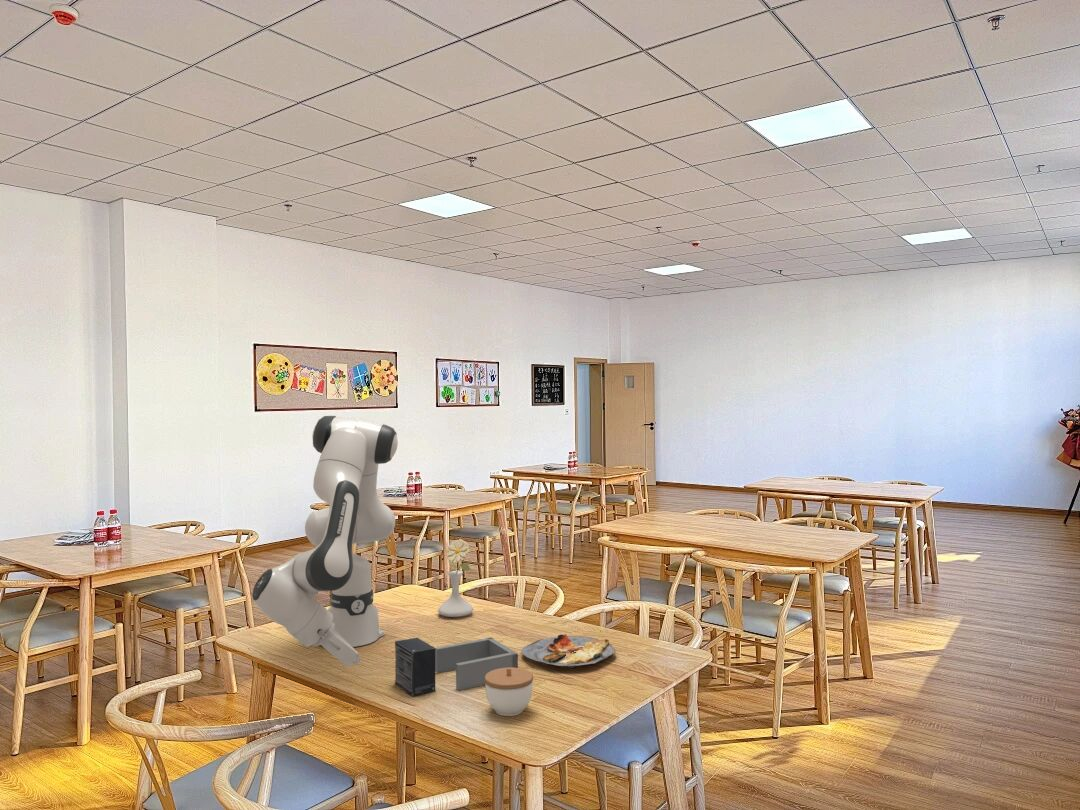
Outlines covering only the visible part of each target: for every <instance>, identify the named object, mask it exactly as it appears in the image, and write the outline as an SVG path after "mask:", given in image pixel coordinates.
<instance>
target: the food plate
mask: <svg viewBox="0 0 1080 810" xmlns="http://www.w3.org/2000/svg"><path fill="white" fill-rule="evenodd" d="M578 646H584V647H578ZM574 651H577V652H576V653H574V654H572V655H570V656H569V657H566V658H565V656H566V654H567V653H572V652H574ZM520 653H521V655H522V656H525V657H526V658H527V659H530V660H533V662H539V663H542V664H547V665H552V666H556V667H564V668H565V667H566V668H571V669H572V668H575V667H580V666H584V665H591V664H597V663H598V662H600V661H601V662H602V661H603V660H605V659H607V658H609V657H610V656H613V655H614V654H615V653H616V649H615V648H614V647H613V645H612V644H611V643H610V640H609V639H597V638H594V637H589V636H581V635H580V636H579V635H577V636H576V635H567V634H566V633H564V634H558V635H557V636H552V637H548V638H546V637H545V638H541V639H539V640H536V641H533V642H532V643H529V644H527V645H526V646H525V645H524V646H523V647H522V648H521V651H520Z"/></svg>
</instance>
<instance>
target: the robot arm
mask: <svg viewBox="0 0 1080 810" xmlns="http://www.w3.org/2000/svg"><path fill="white" fill-rule="evenodd" d="M311 435H312V436H311V438H312V447H313V448H314V449H315V450H316V452H318V453H320V457H319V459H318V462H317V466H316V468H315V472H314V477H313V484H312V485H313V490H314V492H315V494H316V496H317V497H318V498H319V499H320V500H321V501H323V502H324V503H327V504H328V507H326V508H322V509H318V510H316V511H315V510H314V511H312V512H311V513H310V514H309V515H308V517H307V519H306V521H305V523H304V524H305V525H304V532H305V536H306V538H307V540H308V541H309V542H310V543H311V544H312V545H313V546H315V548H312V549H309V550H306V551H303V552H299V553H297V554H296V555H294V556H293V557H291V559H289V560H288V561H286V562H284V563H283V564H281V565H280V564H279V566H275V567H273V568H268V569H267V570H266V571H264V572H262V574H261V575H260V576H259V578H258V579H257V580H256V582H255V584H254V586H253V590H252V595H251V596H252V600H253V602H254V604H255V605H256V606H257V607H258V608H259V609H260V610H261V611H262V613H264V614H265V615H266V616H267V617H268V618H270V619H271V620H272V621H274V623H276V624H278V625H281V626H282V627H284V628H285V630H286V631H287V632H288V634H289V635H291V636H292V637H293V638H294V639H296V640H297V641H298V642H299V643H300V644H302V645H303V646H304V647H311V646H314V647H319V646H320V645H322V646H321V647H323V648H324V649H325V650H326V651H327V652H328V653H329V654H330V655H332V656H333V657H334V658H335V659H336V660H338V661H339V662H340V663H342V664H343V665H344V666H345V667H350V666H351V665H353V666H358V665H359V664H360V663H361V661H362V660H361V659H362V658H361V657H360V656H359V652H358V651H357V650H356V649H355V648H356V647H361V646H365V645H370V644H372V643H374V642H376V641H377V640H378V639H379V638H381V637H383V636H385V631H384V630H382V629H380V617H379V608H378V607H377V606H376V605H374V603H373V602H374V592H373V591H374V590H373V589H372V566H371V563H370V561H369V560H368V559H367V558H365V557H363V556H361V555H359V554H356V553H353V550H352V549H353V548H352V547H353V544H354V545H355V544H364V543H365V544H366V543H372V542H373V543H374V542H378V541H381V540H384V539H388V538H390V537H391V536H392V534H393V532H394V530H395V527H396V518H395V513H394V512H393V510H392V509H391V508H390V507H389V506H388V505H386V504H384V503H383V501H381V500H380V497H379V496H378V491H377V483H378V482H377V480H378V479H377V478H378V473H379V472H378V470H379V464H380V465H381V464H387V463H388V462H391V460H392V458H393V457H394V455H395V454H396V452H397V451H398V443H399V442H398V437H397V435H398V434H397V431H396V430H395V429H394V427H391V426H389V425H387V424H385V423H383V424H380V423H377V422H374V421H369V420H366V419H362V418H359V419H356V418H352V417H351V418H350V417H342V416H341V417H338V416H337V415H325V416H322V417H321V418H319V419H318V420H317V422H316V423H315V426H314V428H313V431H312V434H311ZM321 592H330V597H329V598H330V601H329V602H330V603H329V605H330V606H329V608H326V607H325V606H324V605H322V604H321V602H319V601H318V600H317V598H316V597H317V595H319V593H321Z"/></svg>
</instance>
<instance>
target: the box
mask: <svg viewBox="0 0 1080 810" xmlns="http://www.w3.org/2000/svg"><path fill="white" fill-rule="evenodd" d="M511 667H512V668H519V654H518V652H516V651H514V650H513V649H511V648H510V647H508V646H506V645H504V644H503V643H502V642H500V641H499V640H496V639H494V638H493V637H486V638H479V639H476V640H469V641H465V642H460V643H454V644H449V645H443V646H438V647H435V673H436V674H439V673H445V672H450V671H454V670H455V689H456V690H457V691H463V690H467V689H473V688H476V687H481V686H485V675H486V674H487V673H488V672H490V671H492V670H495V669H500V668H511Z"/></svg>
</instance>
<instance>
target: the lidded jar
mask: <svg viewBox="0 0 1080 810" xmlns="http://www.w3.org/2000/svg"><path fill="white" fill-rule="evenodd" d="M533 681H534V674H533V673H532V672H531V671H530V670H527V669H525V668H521V667H518V668H512V667H511V668H500V669H495V670H492V671H490V672H488V673H487V674H486V675H485V685H484V686H485V694H486V700H487V702H488V704H489V705H490V707H491V708H492V709H493V710H494V711H495V713H496V714H497V715H500V716H503V717H513V716H514V717H515V716H518V715H521V714H522V713H523V712H524V710H525V709H526V708H527V706H528V705H529V704H530V701H531V699H532V695H533V685H534V684H533Z"/></svg>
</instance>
